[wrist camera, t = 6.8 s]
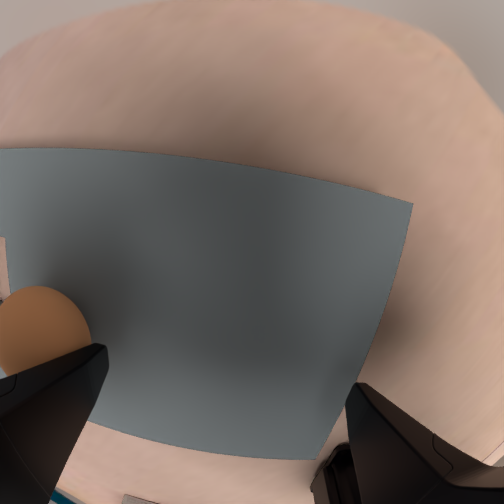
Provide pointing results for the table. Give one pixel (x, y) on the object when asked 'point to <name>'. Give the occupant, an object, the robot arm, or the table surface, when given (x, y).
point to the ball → (39, 328)
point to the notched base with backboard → (207, 289)
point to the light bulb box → (134, 500)
